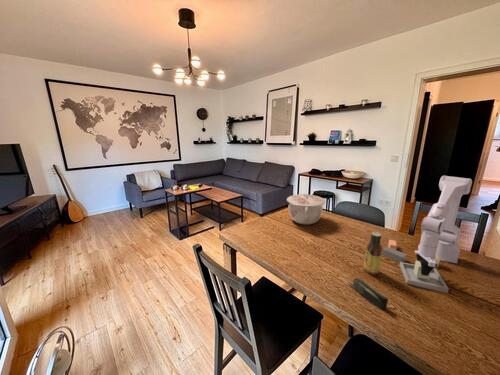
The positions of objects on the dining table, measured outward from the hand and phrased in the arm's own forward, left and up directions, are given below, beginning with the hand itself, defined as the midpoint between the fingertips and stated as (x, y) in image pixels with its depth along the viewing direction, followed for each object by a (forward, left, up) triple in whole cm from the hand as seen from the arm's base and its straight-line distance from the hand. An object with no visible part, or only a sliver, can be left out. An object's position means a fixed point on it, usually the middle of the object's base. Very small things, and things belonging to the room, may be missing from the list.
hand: (422, 271), depth 92 cm
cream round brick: (-8, -14, -4) cm, 17 cm away
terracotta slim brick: (+7, -24, -4) cm, 25 cm away
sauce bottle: (+20, +3, -4) cm, 21 cm away
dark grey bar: (+23, +21, -4) cm, 31 cm away
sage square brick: (0, 0, -2) cm, 2 cm away
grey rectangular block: (+8, -14, -4) cm, 17 cm away
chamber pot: (+59, -44, -4) cm, 74 cm away
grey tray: (0, 0, -3) cm, 3 cm away
